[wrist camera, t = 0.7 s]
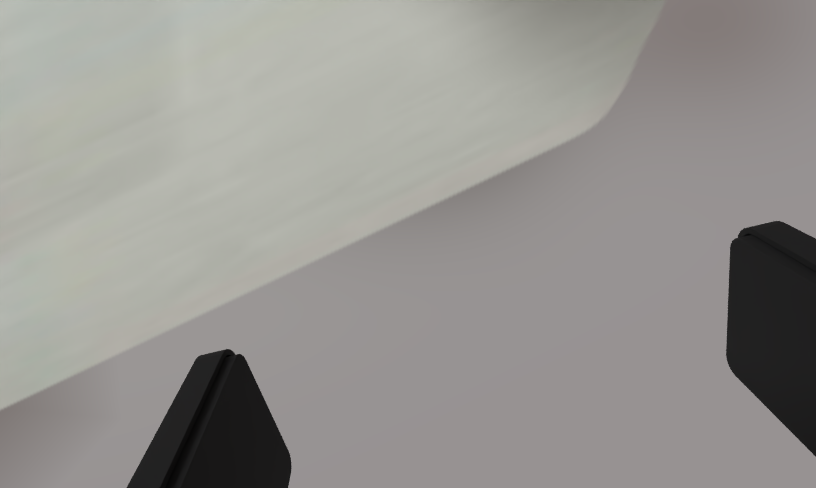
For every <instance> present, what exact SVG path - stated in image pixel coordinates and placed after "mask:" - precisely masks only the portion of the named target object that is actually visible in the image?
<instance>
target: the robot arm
mask: <svg viewBox="0 0 816 488" xmlns="http://www.w3.org/2000/svg"><path fill="white" fill-rule="evenodd" d="M726 351H727V352H726V356H727V361H728V364H729V367H730V369H731V370H732V372H733V373H734V374H735V376H736V377H737V378H739V380H740V381H741V382H742V383H743V384H744V385H745V386H746V387H747V388H748V389H749V390H751V392H752V393H753V394H754V395H755V396H756V397H757V398H758V399H759V400H760V401H761V402H762V403H763V404H764V405H765V406H766V407H767V408H768V409H769V410H770V411H771V412H772V413H773V414H774V415H775V416H776V417H777V418H778V419H779V420H780V421H781V422H782V423H783V424H784V425H785V426H786V427H787V428H788V429H789V430H790V431H791V432H792V433H793V434H794V435H795V436H796V437H797V438H798V439H799V440H800V441H801V442H802V443H803V444H804V445H805V446H806V447H807V448H808V449H809V450H810V451H811V452H812V453H813V454H814V455H815V456H816V239H815V238H813V237H811V236H809V235H807V234H805V233H803V232H801V231H799V230H797V229H795V228H794V227H791V226H790V225H788V224H785V223H783V222H780V221H774V222H770V223H765V224H761V225H757V226H753V227H749V228H744V229H743V230H741V231H740V233H739V235H738V238H736V239H734V240H733V241H732V243H731V247H730V270H729V297H728V323H727V349H726ZM290 474H291V458H290V454H289V451H288V449H287V447H286V445H285V443H284V441H283V439H282V436H281V434H280V432H279V430H278V428H277V426H276V423H275V421H274V419H273V417H272V415H271V413H270V411H269V409H268V406H267V404H266V402H265V400H264V398H263V396H262V393H261V391H260V389H259V387H258V385H257V383H256V381H255V379H254V376H253V374H252V372H251V370H250V368H249V366H248V364H247V361H246V360H245V358H244V356H242V355H241V354H237V355H235V354H234V352H233V351H231V350H229V349H226V350H222V351H217V352H213V353H209V354H205V355H201V356H199V357H197V359H196V360H195V362H194V364H193V366H192V367H191V369H190V371H189V373H188V375H187V377H186V379H185V381H184V382H183V384H182V386H181V388H180V390H179V392H178V394H177V395H176V397H175V399H174V401H173V403H172V405H171V406H170V408H169V410H168V412H167V414H166V416H165V418H164V419H163V421H162V423H161V425H160V427H159V429H158V431H157V432H156V434H155V436H154V438H153V440H152V442H151V444H150V445H149V447H148V449H147V451H146V453H145V455H144V457H143V459H142V460H141V462H140V464H139V466H138V468H137V470H136V472H135V473H134V475H133V477H132V479H131V481H130V483H129V484H128V487H127V488H288V485H289V480H290Z"/></svg>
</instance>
